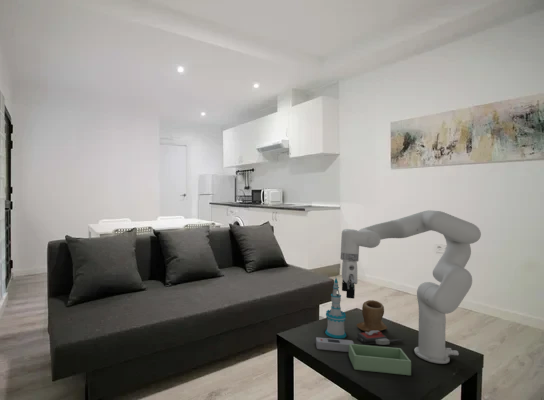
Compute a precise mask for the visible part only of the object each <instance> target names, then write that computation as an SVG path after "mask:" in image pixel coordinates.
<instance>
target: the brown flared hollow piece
mask: <svg viewBox="0 0 544 400" xmlns="http://www.w3.org/2000/svg"><path fill="white" fill-rule="evenodd" d="M361 314H362V317H363V321H361V322H359V323H356V328H358V329H359V330H361V331H363V332H364V333H365V332H370V331H372V330H378V331H380V332H382V331H385V330H386V331H387V330H388V325H386V324H385V323H384V322H383V317H384V314H385V307H384V305H383V303H381V302H380V301H377V300H373V299H368V300H366V301H364V302H363V304H362V308H361Z"/></svg>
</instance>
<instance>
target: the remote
mask: <svg viewBox="0 0 544 400" xmlns="http://www.w3.org/2000/svg"><path fill="white" fill-rule="evenodd" d="M349 344H355V342H354V341H353V340H350V339H342V338H341V339H338V338H331V337H329V338H327V337H317V336H316V337H315V346H316V349H317V350H323V351H336V352H345V353H349Z"/></svg>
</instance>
